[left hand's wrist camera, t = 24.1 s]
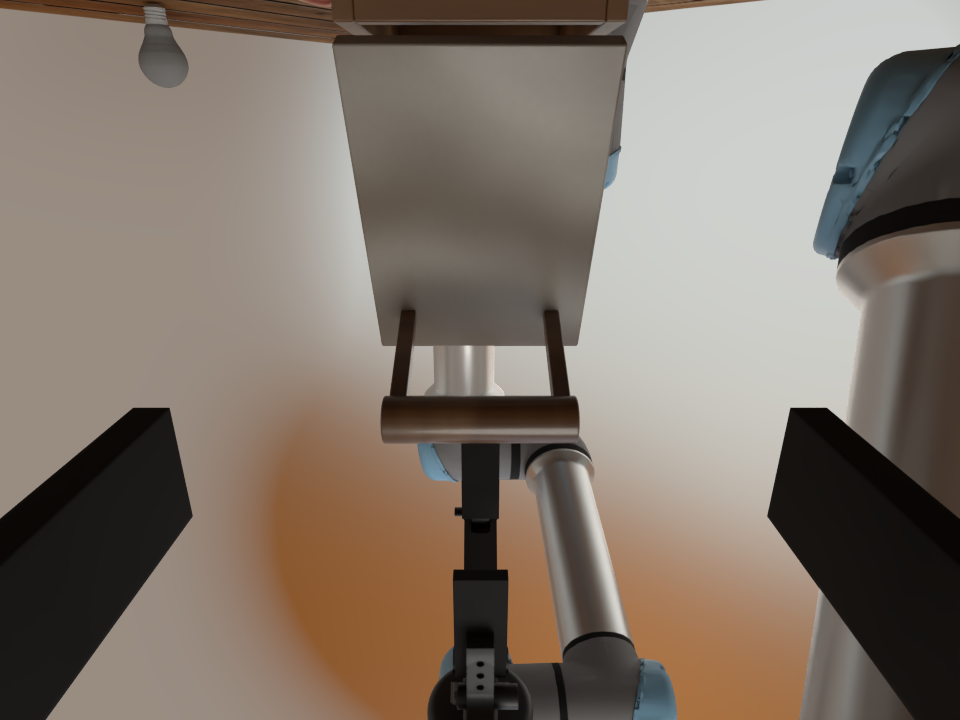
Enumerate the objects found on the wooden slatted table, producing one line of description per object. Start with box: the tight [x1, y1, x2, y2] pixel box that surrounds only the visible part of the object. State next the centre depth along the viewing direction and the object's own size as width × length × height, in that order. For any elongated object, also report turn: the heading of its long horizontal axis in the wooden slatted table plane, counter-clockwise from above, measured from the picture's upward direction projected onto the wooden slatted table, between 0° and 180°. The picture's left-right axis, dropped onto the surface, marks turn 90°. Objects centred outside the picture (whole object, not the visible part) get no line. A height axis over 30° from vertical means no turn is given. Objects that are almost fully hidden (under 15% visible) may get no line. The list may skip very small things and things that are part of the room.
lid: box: [332, 35, 628, 443], centre depth 23 cm, size 14×10×8 cm
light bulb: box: [139, 4, 188, 88], centre depth 81 cm, size 6×6×10 cm
